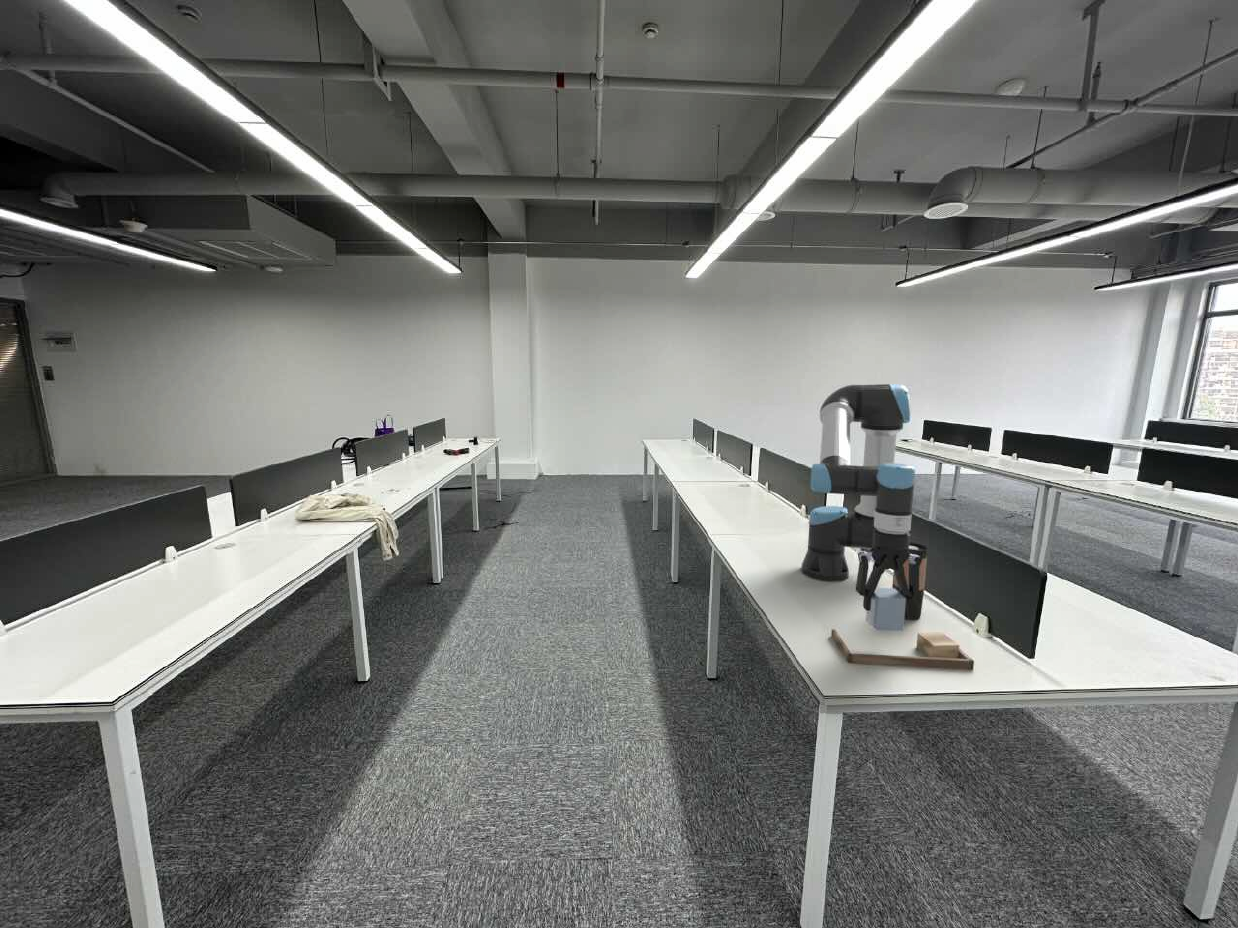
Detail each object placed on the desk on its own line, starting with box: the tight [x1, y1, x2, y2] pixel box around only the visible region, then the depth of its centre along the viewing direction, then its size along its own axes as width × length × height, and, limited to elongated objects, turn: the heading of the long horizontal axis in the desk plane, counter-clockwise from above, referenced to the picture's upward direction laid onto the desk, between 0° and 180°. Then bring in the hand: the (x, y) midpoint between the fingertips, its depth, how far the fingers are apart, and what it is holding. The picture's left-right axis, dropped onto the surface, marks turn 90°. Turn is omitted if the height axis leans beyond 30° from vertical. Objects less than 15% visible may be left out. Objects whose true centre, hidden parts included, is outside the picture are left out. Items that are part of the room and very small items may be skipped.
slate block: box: [872, 587, 906, 632], centre depth 116 cm, size 6×6×8 cm
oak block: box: [916, 631, 960, 659], centre depth 116 cm, size 6×6×4 cm
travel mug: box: [891, 541, 928, 621], centre depth 135 cm, size 8×8×20 cm
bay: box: [830, 629, 975, 670], centre depth 117 cm, size 12×27×2 cm, turn 84°
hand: (884, 623), depth 116 cm, fingers closed on slate block, 6 cm apart
